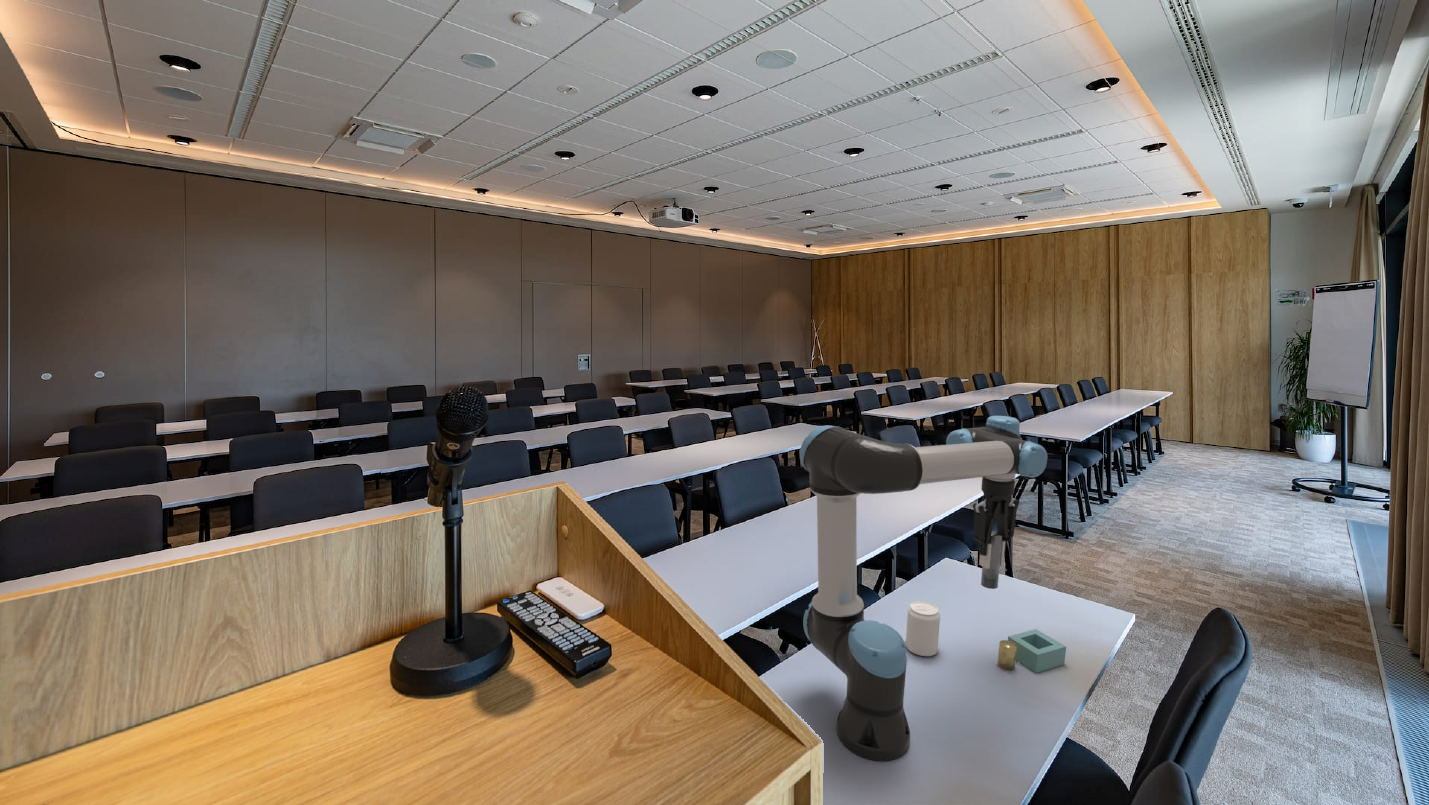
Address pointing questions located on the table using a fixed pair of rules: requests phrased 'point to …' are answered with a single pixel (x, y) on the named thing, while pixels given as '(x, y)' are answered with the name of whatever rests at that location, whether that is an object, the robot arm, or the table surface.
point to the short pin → (1007, 655)
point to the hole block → (1038, 650)
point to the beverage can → (922, 628)
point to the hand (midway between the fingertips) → (991, 564)
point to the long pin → (993, 563)
